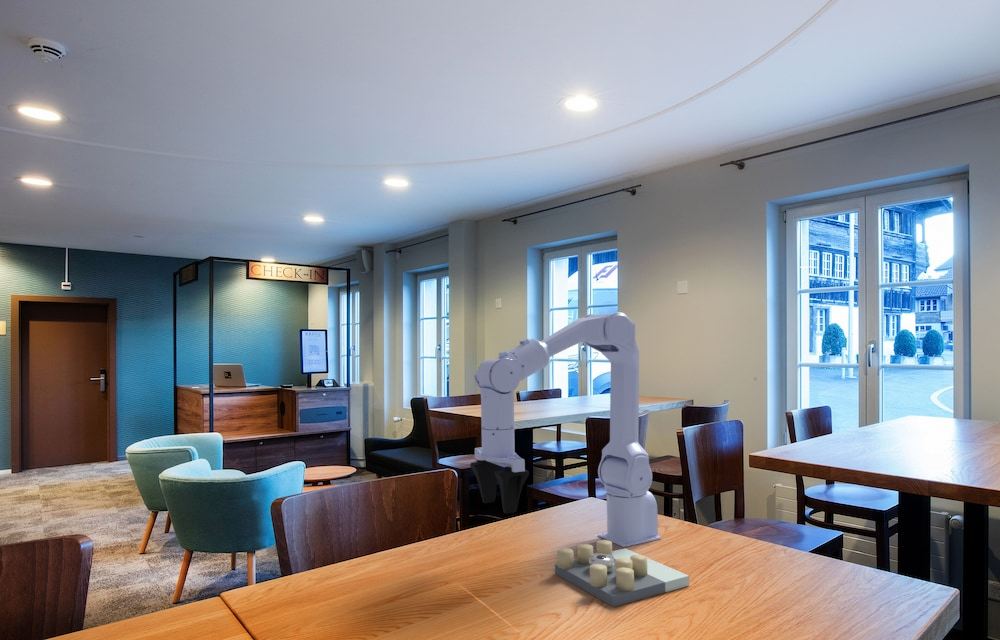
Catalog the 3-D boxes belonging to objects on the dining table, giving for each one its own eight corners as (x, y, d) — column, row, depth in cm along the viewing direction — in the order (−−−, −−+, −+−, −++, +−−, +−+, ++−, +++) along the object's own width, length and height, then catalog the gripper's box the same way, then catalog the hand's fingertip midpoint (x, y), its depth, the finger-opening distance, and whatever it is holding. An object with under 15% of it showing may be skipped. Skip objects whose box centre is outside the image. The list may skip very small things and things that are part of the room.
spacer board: (625, 556, 108) (624, 534, 108) (689, 585, 95) (688, 559, 95) (553, 573, 101) (553, 549, 101) (612, 607, 88) (611, 579, 88)
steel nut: (603, 563, 101) (603, 551, 101) (619, 571, 97) (619, 558, 97) (584, 568, 99) (583, 555, 99) (599, 576, 95) (599, 563, 95)
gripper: (459, 425, 110) (460, 501, 110) (497, 435, 98) (498, 520, 97) (493, 422, 114) (494, 495, 113) (535, 431, 101) (536, 514, 100)
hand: (499, 507), depth 105 cm, fingers open, 7 cm apart
